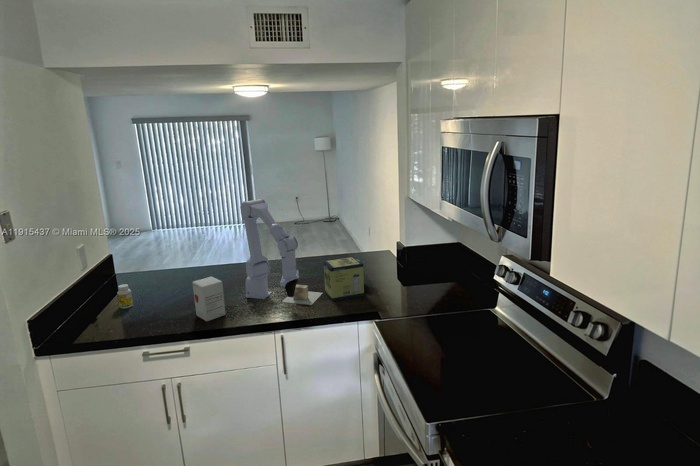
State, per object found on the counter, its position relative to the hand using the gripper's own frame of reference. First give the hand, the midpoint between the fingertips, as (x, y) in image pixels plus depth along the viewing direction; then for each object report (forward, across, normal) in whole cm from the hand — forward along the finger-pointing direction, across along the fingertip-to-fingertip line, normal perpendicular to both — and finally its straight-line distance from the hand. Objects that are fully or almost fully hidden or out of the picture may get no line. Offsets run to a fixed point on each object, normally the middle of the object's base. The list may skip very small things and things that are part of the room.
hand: (290, 296), depth 190 cm
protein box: (+6, +20, -17) cm, 27 cm away
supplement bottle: (+6, -15, +72) cm, 74 cm away
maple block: (+5, +10, 0) cm, 11 cm away
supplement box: (+6, -14, +30) cm, 34 cm away
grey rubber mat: (+5, +12, 0) cm, 13 cm away
